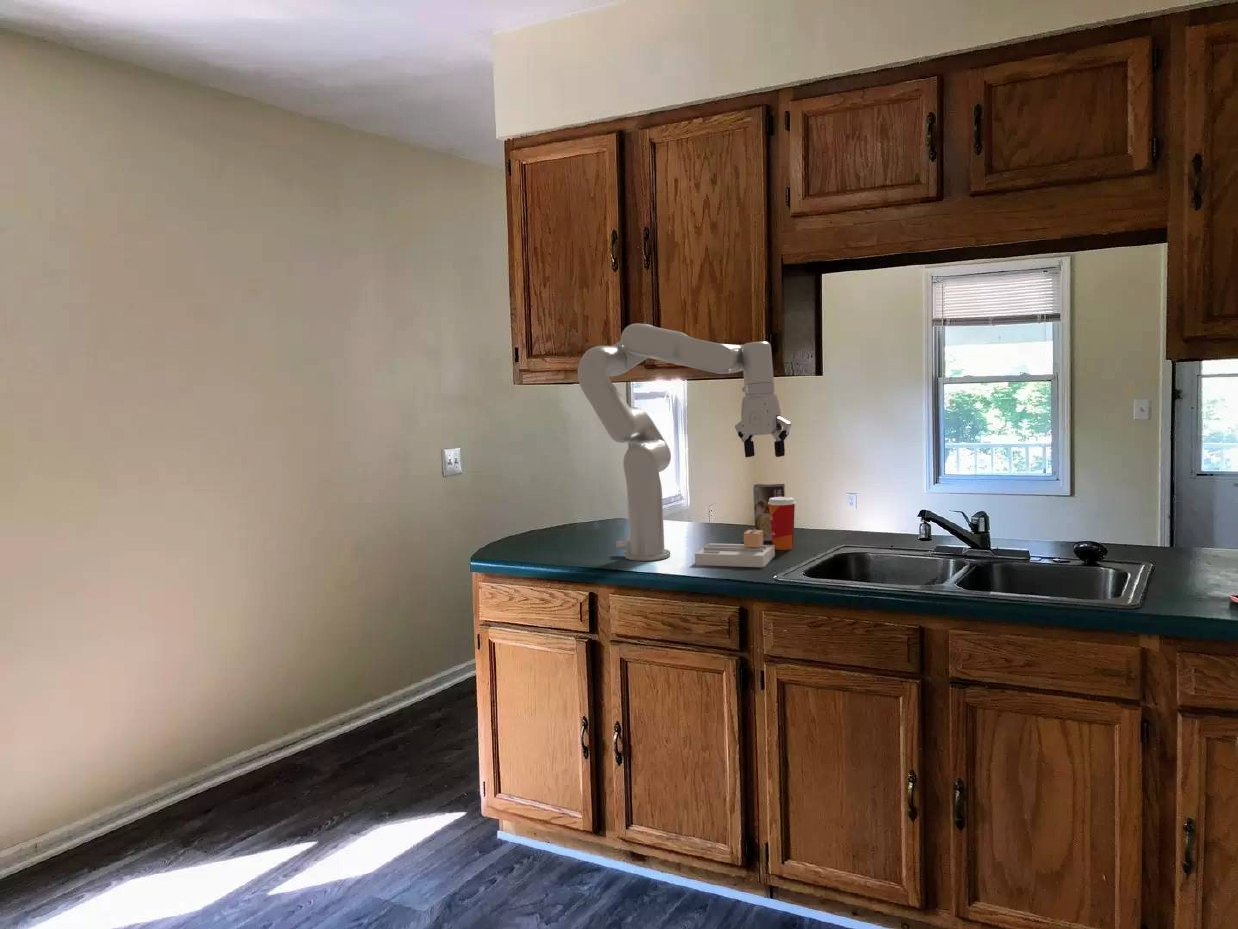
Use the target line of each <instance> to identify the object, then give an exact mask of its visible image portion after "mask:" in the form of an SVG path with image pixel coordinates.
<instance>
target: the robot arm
mask: <svg viewBox="0 0 1238 929" xmlns="http://www.w3.org/2000/svg"><path fill="white" fill-rule="evenodd" d="M772 354H773V353H772V345H771V344H770V342H769V341H754V342H753V341H752V342H746V343H744V344H729V343H718V342H713V341H708V340H703V339H699V338H695V337H691V336H689V335H687V334H686V333H685V332H681V331H677V330H672V329H667V328H663V327H658V326H654V325H651V324H648V323H639V322H638V323H632V324H629V325H628V326H626V327H625V328H624V330H622V333H621V336H620V340H619V341H618V342H616V343H614V344H613V345H596V346H594V347H591V348H589V349H588V350H586V351H585V353H583V355H582V357H581V358H580V361H579V364H578V368H577V379H578V383H579V386H580V388H581V391H582V392H583V394H584V396H585V397H586V399H587V401H588V402H589V403H590V405H591V407H592V408H593V410H594V412H595V413H596V415H597V417H598V419H599V420H600V422H601V424H602V425H603V427H604V428H605V430H606V432H607V433H608V435H609V436H610V438H611V439H612V440H613V441H615V442H616V443H620V444H626V443H628V445H629V447H628V448H627V450H626V451H625V453H624V456H623V459H622V460H623V464H622V465H623V471H624V472H623V473H624V478H625V483H626V492H627V493H626V494H627V509H628V510H627V511H628V512H627V513H628V532H629V533H628V534H629V539H628V540H626V541H624V540H623V541H622V540H620V541H619V540H617V541H616V543H615V544H616V545H615V546H616V548H617V549H620V550H626V552H624V558H625V559H626V560H630V561H641V562H644V561H645V562H648V561H649V562H651V561H658V560H663V559H664V560H665V559H668V558H669V557H670V556H671V550H669V549H666V548H665V533H664V532H665V530H664V527H665V525H664V508H663V507H664V506H663V503H664V502H663V488H662V482H661V477H660V473H661V472H662V471H665V470H666V469H667V467H668V466H669V465H670V464H671V460H672V453H671V450H670V447H669V445H668V443H667V442H666V440H665V439H664V437H663V435H662V434H661V432H660V430H659V429H658V428H657V426H656V424H655V423H654V421H653V419H652V418H651V417H650V415H649V414H648V413H647V412H645V410H643V409H642V408H640V407H634V406H629V404H628V403H627V401H626V400H625V399H624V398H623V396H622V394H621V392H620V390H619V388H617V387H616V386H615V385H614V383H613V382H612V380H611V379H610V377H618V376H621V375H623V374H624V373H627V372H628V371H630V370H631V369H633V368H634V367H636V366H638V365H639V364H641V363H642V362H644V361H645V360H647V359H652V360H656V361H660V362H661V361H662V362H665V363H670V364H672V365H677V366H684V367H688V368H692V369H695V370H701V371H703V372H709V373H714V374H719V375H723V374H725V375H726V374H735V373H739V372H743V373H742V374H743V383H744V384H743V386H742V388H741V391H742V392H743V393H744V396H742V400H741V401H742V402H741V411H740V412H741V413H740V417H741V418H740V421H739V422H738V423H737V424H735V425H734V428H735V431H736V433H737V436H738V437H739V438H740V440H741V442H742V443H743V447H744V448H743V449H744V457H745V458H752V457H754V456H755V442H754V440H753V438H754V436H762V435H772V437H773V438H774V439H775V441H774V443H773V444H774V456H775V458H779V457H784V456H785V455H786V453H785V452H786V450H785V449H786V448H785V440H787V437H788V436H789V433H790V429H791V427H792V422H790V421H789V420H786V419H785V418H783V417H782V412H781V408H780V407H781V406H780V403H779V399H778V395H777V394H776V392H775V381H774V379H775V378H774V366H773V355H772Z"/></svg>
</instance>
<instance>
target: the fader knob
mask: <svg viewBox="0 0 1238 929" xmlns="http://www.w3.org/2000/svg"><path fill="white" fill-rule="evenodd" d="M743 544H744V547H751V548H756V547H760V546H761V545H764V541H763V530H757V529H755V528H753V529H747V530H746V531H745V532H744V533H743Z"/></svg>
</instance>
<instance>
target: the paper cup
mask: <svg viewBox="0 0 1238 929" xmlns="http://www.w3.org/2000/svg"><path fill="white" fill-rule="evenodd" d="M768 504H769V511H770V523H771V534H772V541H771V542H772V544H771V545H775V550H778V551H788V550H789V551H790V550H792V549H793V548H794V540H795V538H794V536H795V532H794V531H795V510H796V509H795V507H796V506H795V505H796V504H797V501H795V497H791V496H790V497H789V496H785V497H773V498H770V499H769V502H768Z"/></svg>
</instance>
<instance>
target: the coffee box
mask: <svg viewBox="0 0 1238 929" xmlns="http://www.w3.org/2000/svg"><path fill="white" fill-rule="evenodd" d="M752 490H753V514H754V516H753V517H754V529H757V530H763V542H772V534H771V523H770V511H769V504H768V502H769V499H770V498H773V497H786V484H785V483H757V484H754V485H753V489H752Z"/></svg>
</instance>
